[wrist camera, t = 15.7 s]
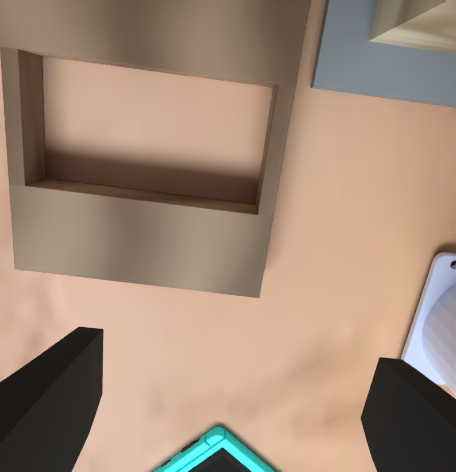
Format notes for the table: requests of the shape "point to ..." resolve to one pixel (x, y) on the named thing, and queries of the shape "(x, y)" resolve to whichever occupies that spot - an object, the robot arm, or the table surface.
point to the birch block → (416, 24)
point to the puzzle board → (138, 201)
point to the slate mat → (378, 60)
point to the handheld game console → (215, 456)
